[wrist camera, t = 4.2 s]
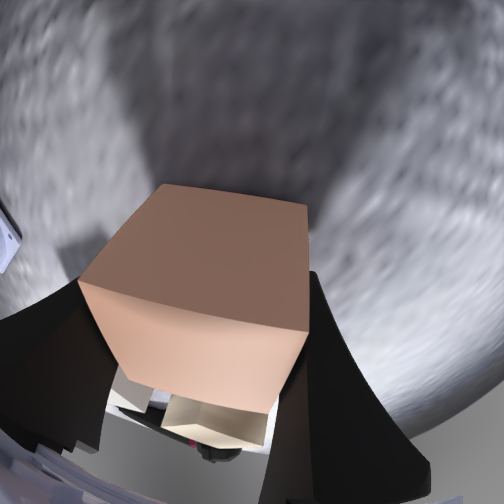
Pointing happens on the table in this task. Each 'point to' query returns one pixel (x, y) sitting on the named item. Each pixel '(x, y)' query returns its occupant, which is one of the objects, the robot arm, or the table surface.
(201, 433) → the birch block
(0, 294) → the table surface
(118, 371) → the white block
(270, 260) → the peach block
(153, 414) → the microphone
